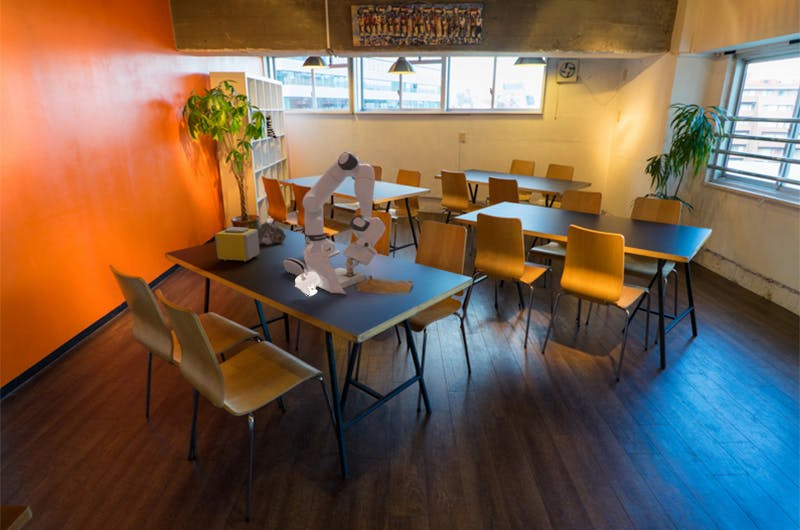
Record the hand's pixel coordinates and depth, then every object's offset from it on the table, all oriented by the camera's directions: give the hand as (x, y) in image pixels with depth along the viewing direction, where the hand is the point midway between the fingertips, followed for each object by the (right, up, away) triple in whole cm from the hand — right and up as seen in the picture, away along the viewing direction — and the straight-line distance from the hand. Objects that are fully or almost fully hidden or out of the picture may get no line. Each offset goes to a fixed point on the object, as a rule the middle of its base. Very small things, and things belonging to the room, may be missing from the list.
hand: (348, 267), depth 231 cm
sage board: (-5, -7, +3) cm, 9 cm away
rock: (-60, +16, +75) cm, 97 cm away
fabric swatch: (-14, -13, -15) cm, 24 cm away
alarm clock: (-69, +4, +38) cm, 79 cm away
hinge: (-29, -4, +12) cm, 32 cm away
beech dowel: (+1, -6, +2) cm, 6 cm away
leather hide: (+19, -11, -8) cm, 24 cm away
